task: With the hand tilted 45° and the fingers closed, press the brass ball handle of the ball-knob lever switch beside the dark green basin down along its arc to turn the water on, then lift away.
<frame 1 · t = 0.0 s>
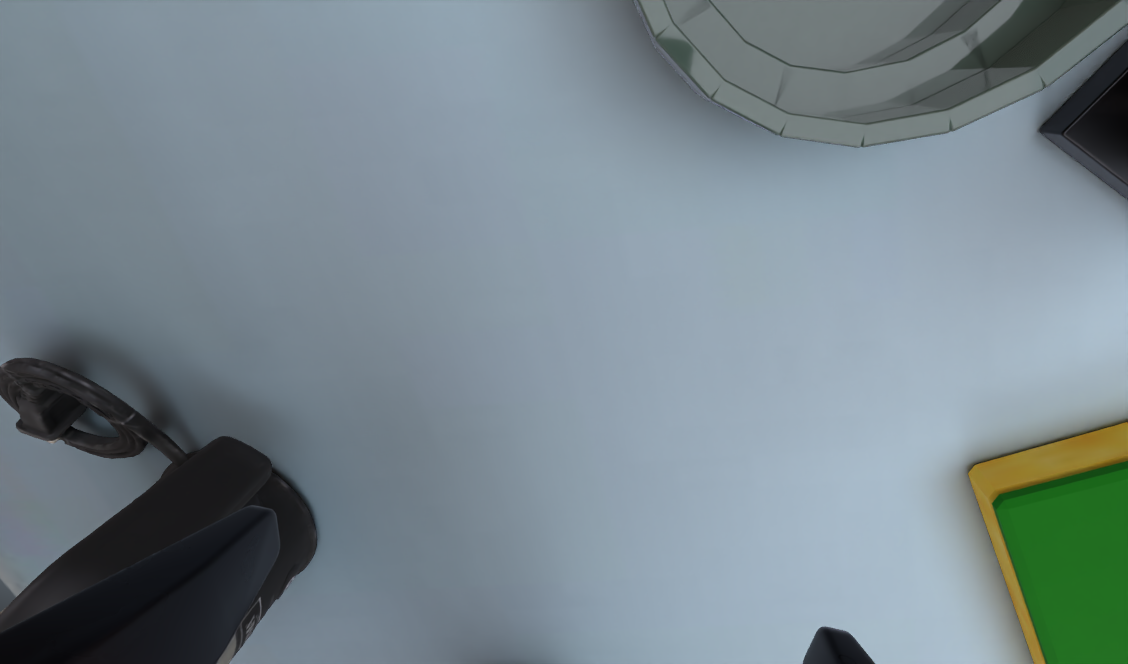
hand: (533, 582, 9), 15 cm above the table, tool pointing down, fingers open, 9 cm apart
dish sponge: (1092, 556, 24), on the table
milk frother: (187, 463, 30), on the table
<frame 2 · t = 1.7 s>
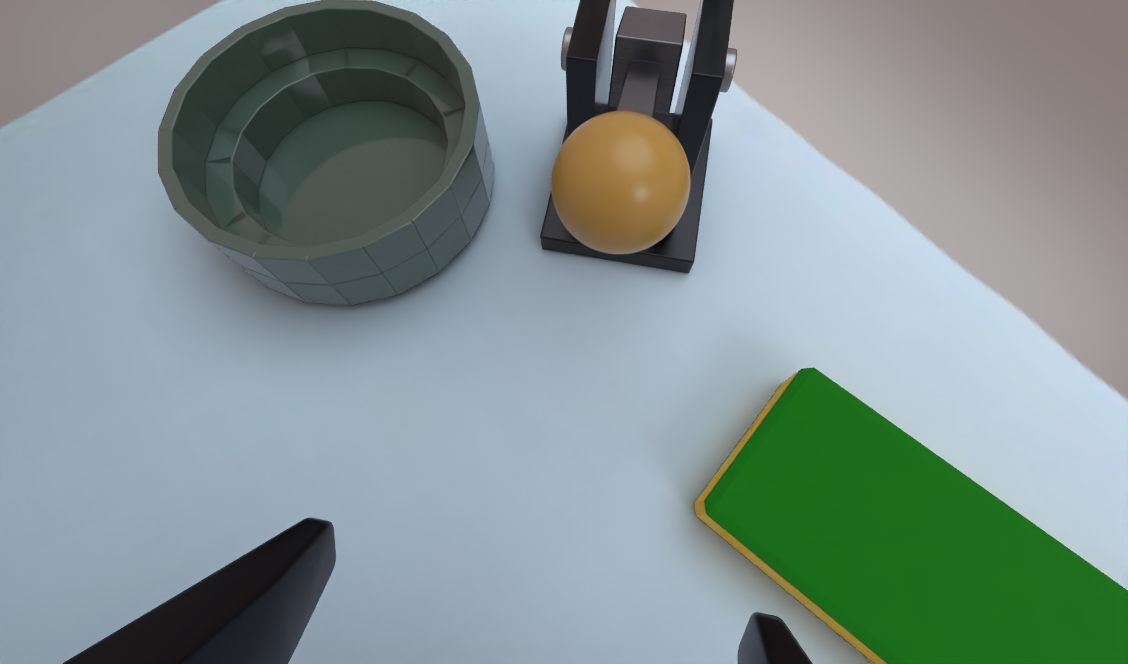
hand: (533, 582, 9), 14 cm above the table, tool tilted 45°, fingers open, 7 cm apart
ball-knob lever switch: (627, 189, 27), on the table
tap lever: (634, 115, 17), point 10 cm above the table, hinge at 22.0°
dish sponge: (886, 557, 22), on the table
basin: (362, 187, 28), on the table
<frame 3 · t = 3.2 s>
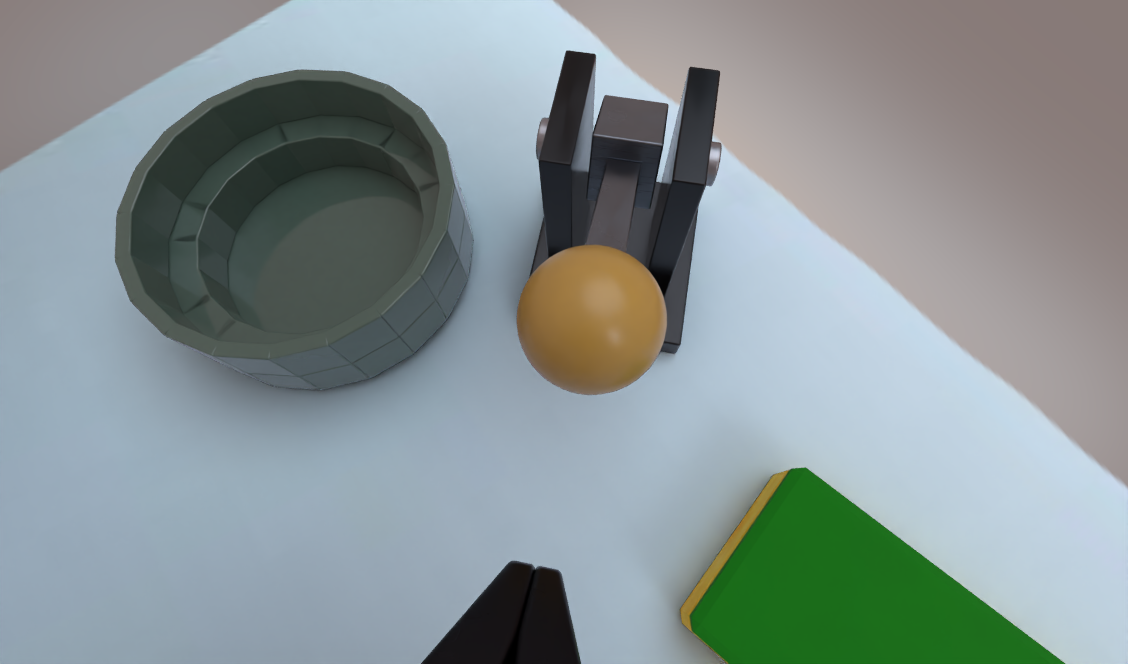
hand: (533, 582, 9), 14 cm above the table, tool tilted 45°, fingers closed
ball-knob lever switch: (612, 262, 26), on the table
tap lever: (611, 226, 16), point 10 cm above the table, hinge at 22.0°
basin: (336, 258, 27), on the table
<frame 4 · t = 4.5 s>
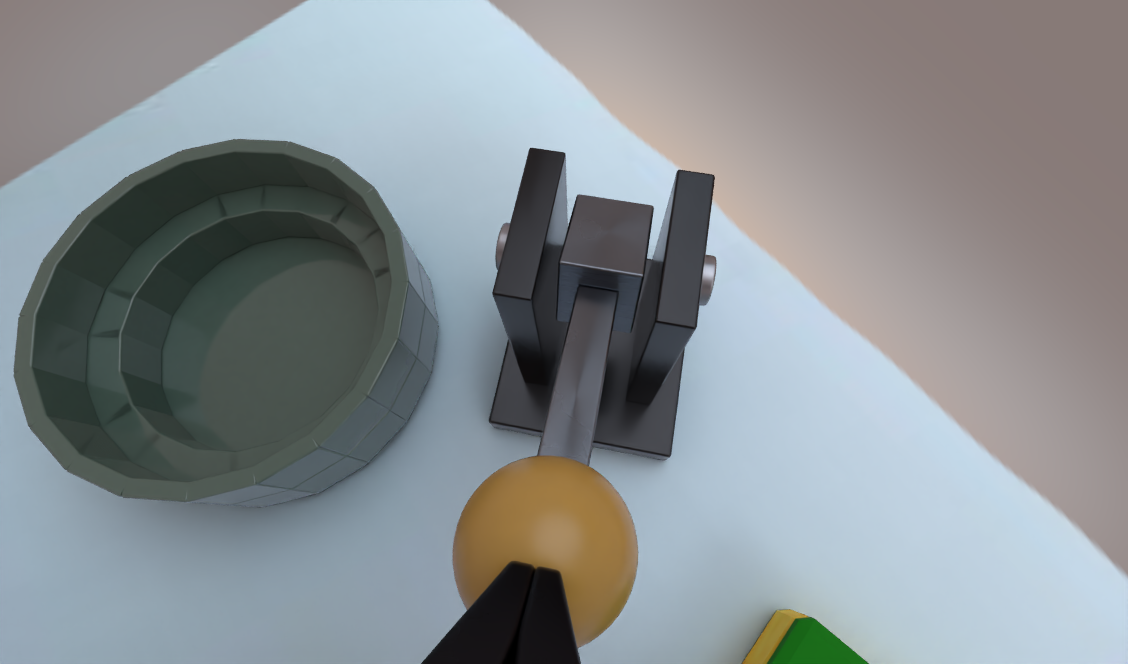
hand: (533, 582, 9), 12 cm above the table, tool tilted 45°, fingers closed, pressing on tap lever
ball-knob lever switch: (595, 349, 23), on the table
tap lever: (578, 387, 13), point 9 cm above the table, hinge at 18.2°, touching gripper
basin: (286, 344, 24), on the table
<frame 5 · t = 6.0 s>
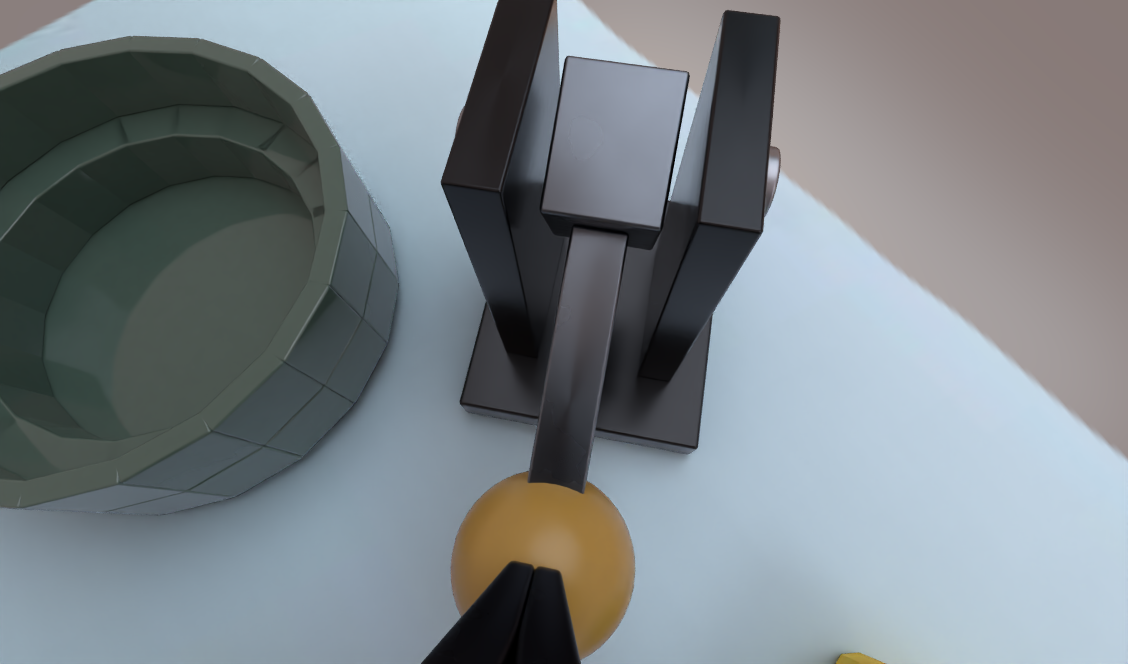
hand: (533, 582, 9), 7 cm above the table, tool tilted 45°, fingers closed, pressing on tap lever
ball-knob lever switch: (598, 314, 18), on the table
tap lever: (576, 374, 11), point 7 cm above the table, hinge at -20.4°, touching gripper
basin: (207, 308, 19), on the table
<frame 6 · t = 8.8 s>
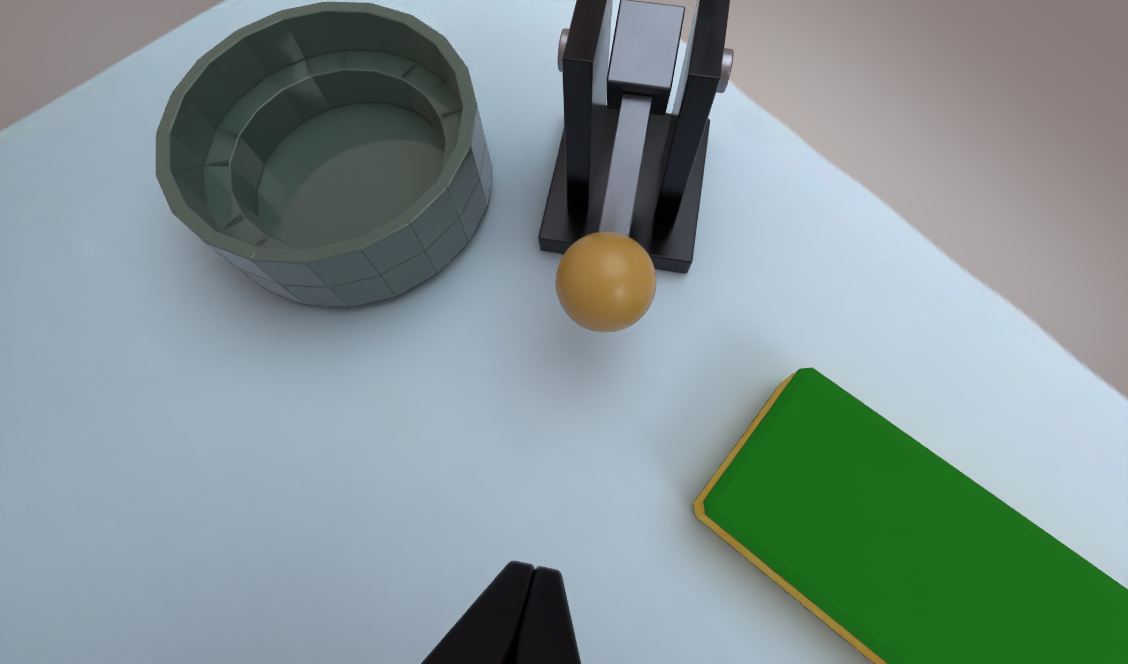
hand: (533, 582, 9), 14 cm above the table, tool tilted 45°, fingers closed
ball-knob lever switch: (625, 190, 27), on the table
tap lever: (623, 177, 20), point 7 cm above the table, hinge at -20.5°
dish sponge: (885, 556, 22), on the table
basin: (360, 189, 28), on the table
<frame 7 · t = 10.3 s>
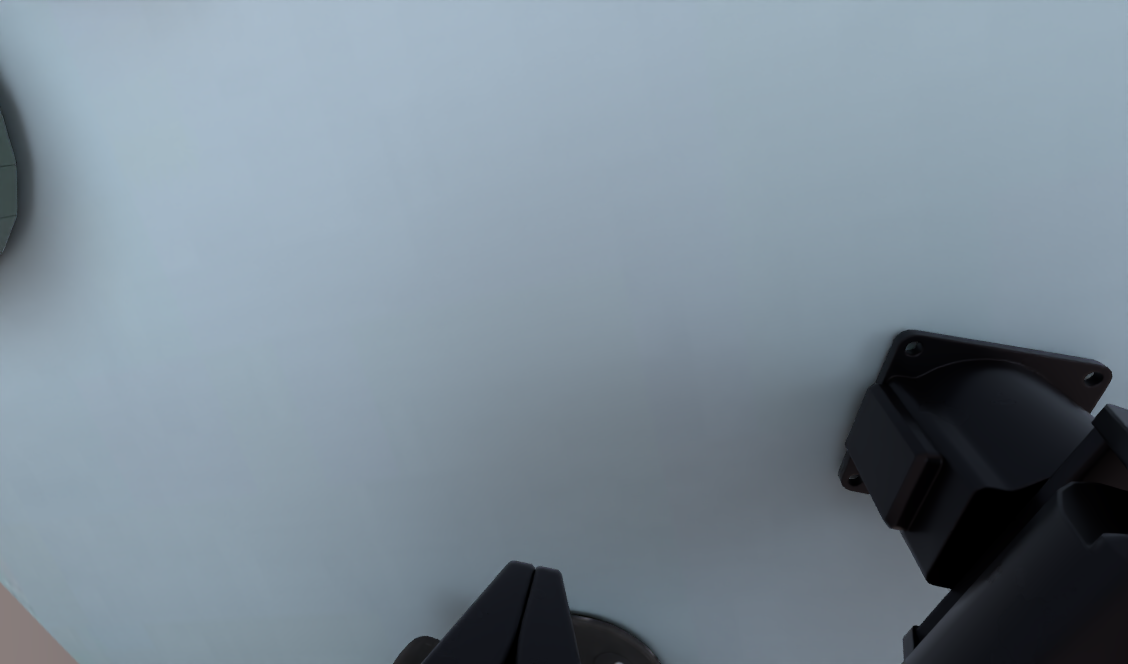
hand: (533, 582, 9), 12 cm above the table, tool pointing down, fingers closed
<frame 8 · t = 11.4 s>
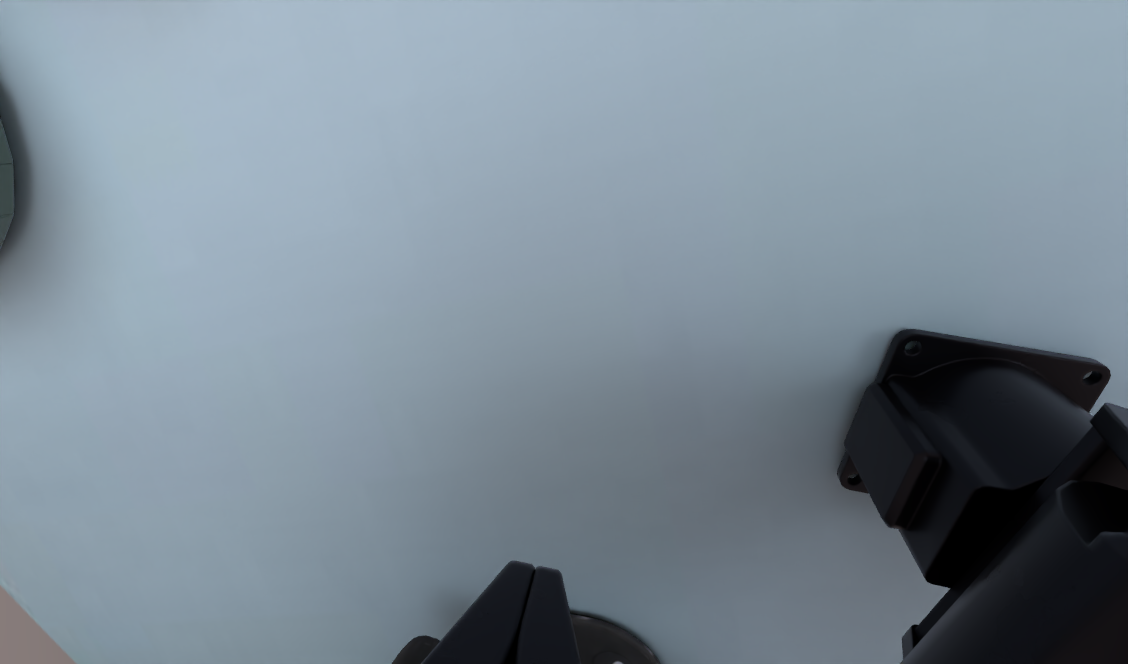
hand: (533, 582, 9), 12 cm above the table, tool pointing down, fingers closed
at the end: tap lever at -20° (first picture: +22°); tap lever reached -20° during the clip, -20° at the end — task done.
